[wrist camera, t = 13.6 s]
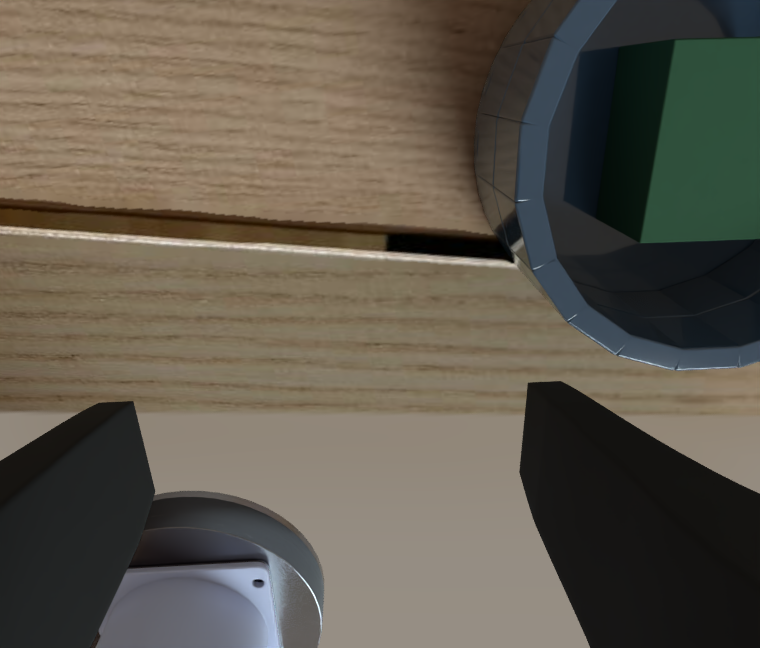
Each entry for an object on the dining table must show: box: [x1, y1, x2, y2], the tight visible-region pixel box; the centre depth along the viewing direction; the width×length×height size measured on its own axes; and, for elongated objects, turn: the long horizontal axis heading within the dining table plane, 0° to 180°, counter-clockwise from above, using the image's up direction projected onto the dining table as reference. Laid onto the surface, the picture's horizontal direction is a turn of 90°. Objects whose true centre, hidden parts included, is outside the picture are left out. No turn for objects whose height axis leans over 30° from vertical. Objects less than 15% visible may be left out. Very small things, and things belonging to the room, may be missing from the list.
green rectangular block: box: [596, 37, 760, 243], centre depth 15 cm, size 5×4×3 cm
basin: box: [474, 0, 760, 371], centre depth 15 cm, size 11×11×5 cm
